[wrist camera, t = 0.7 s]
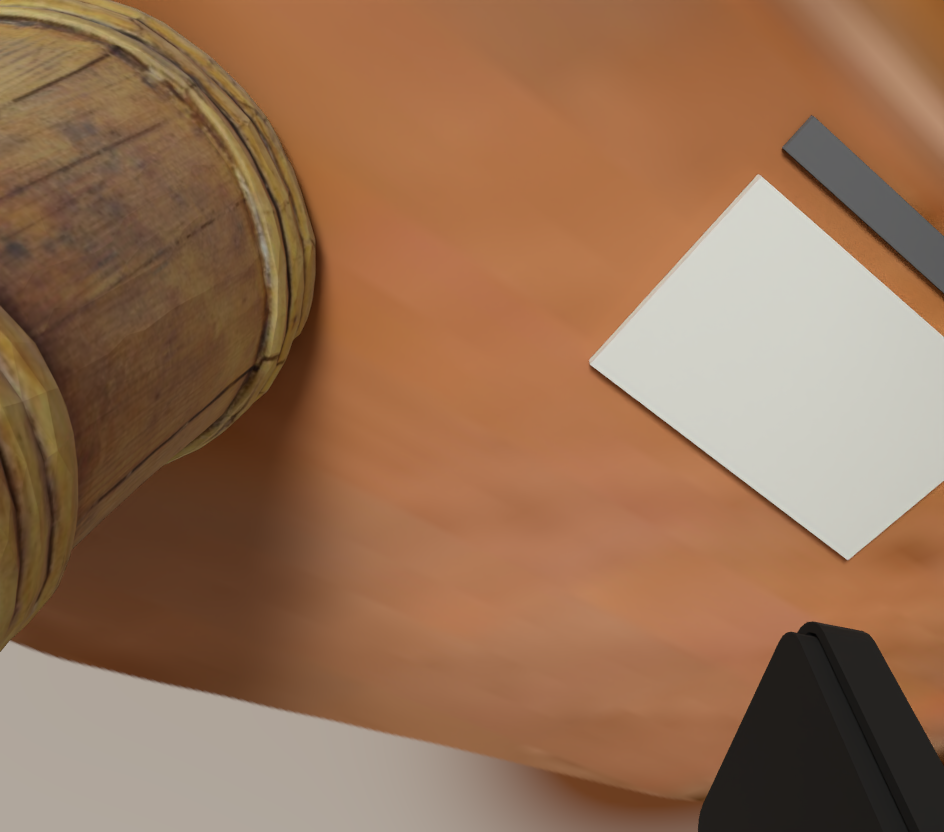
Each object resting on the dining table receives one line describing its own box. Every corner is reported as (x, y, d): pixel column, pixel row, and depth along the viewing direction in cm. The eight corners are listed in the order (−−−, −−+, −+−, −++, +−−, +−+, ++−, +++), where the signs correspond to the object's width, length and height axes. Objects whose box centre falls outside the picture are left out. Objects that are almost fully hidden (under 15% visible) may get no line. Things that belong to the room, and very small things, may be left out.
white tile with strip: (811, 115, 33) (815, 117, 32) (1076, 360, 37) (1083, 364, 36) (589, 359, 38) (589, 364, 37) (844, 553, 41) (847, 560, 41)
